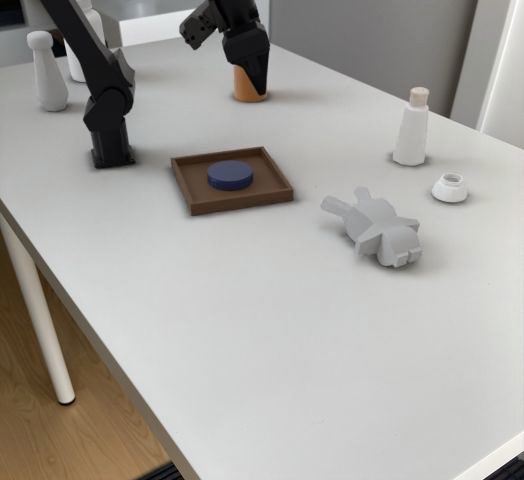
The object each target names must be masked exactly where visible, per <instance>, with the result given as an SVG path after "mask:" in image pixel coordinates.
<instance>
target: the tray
mask: <svg viewBox="0 0 524 480" xmlns="http://www.w3.org/2000/svg"><path fill="white" fill-rule="evenodd" d="M221 161H240V162H244V163H246V164H248V165H250V166H251V167H252V170H253V181H252V183H251V185H250V186H248V187H246V188H244V189H241V190H236V191H223V190H218V189H215V188H213V187H212V186H210V185H209V183H208V179H207V171H208V168H209V167H210V166H211V165H213V164H215V163H218V162H221ZM170 165H171V170H172V173H173V175H174V177H175V180H176V183H177V185H178V187H179V189H180V192H181V195H182V196H183V199H184V202H185V204H186V206H187V209H188V211H189V213H190V215H191V216H197V215H198V216H199V215H205V214H212V213H219V212H225V211H230V210H238V209H245V208H251V207H258V206H264V205H271V204H278V203H279V204H280V203H285V202H291V201H294V191H295V190H294V188H293V186H292V185H291V183H290V182H289V180H288V179H287V178H286V176H285V174H283V172H282V170H281V169H280V168H279V166H278V165H277V163H276V162H275V161H274V159H273V158H272V156H271V155H270V154H269V152H268V151H267V149H266V148H265V146H264V145H262V146H253V147H244V148H237V149H231V150H223V151H215V152H207V153H200V154H199V153H198V154H192V155H182V156H176V157H170Z"/></svg>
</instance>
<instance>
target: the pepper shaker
mask: <svg viewBox="0 0 524 480" xmlns="http://www.w3.org/2000/svg"><path fill="white" fill-rule="evenodd" d="M409 93H410V95H409V103H406V104H405V107H404V110H403V113H402V118H401V122H400V126H399V130H398V132H397V133H398V134H397V138H396V141H395V145H394V149H393V153H392V161H394V162H396V163H397V164H399V165H401V166H407V167H408V166H410V167H416V166H418V165H422V164H424V163H425V156H426V148H427V147H426V146H427V133H428V124H429V123H428V121H429V108H430V107H429V105H427V104H428V103H427V102H428V99H429V95H430V89H428V88H425V87H423V86H422V87H421V86H416V87H413V88H411V89H410V92H409Z"/></svg>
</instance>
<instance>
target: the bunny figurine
mask: <svg viewBox="0 0 524 480" xmlns="http://www.w3.org/2000/svg"><path fill="white" fill-rule="evenodd" d="M353 195H354V197H355V198H356V200H357V202H356V203H355V204H354V205H353V206H352V205H351V204H350V203H349V204H348V203H347V202H345V201H343V200H341V199H340V198H339V197H336V196H332V195H326V196H324V197H323V198H322V201H321V202H320V204H319V209H320V210H321V211H323V212H327V213H329V214H333V215H335V216H338V217H341V218H343V220H344V224H345V229H346V233H347V235H348V236H349V238H350V239H351V240H352V241H353V242H354V243H355V245H354V249H353V253H354V254H355V255H357V256H363V255H364V256H365V255H376V257H377V261H378V263H379V264H380V265H381V266H385V267H388V266H393V267H394V268H399V267H402V266H404V265H406V264H407V263H413V262H416V261H418V260H421V257H422V254H423V251H424V249H423V248H422V247H421V245H420V240H419V237H418V231H419V228H420V221H418V219H417V218H416V219H415V218H408V217H401V216H398V214H397V212H396V208H394V206H393V205H392V204H391V203H390V201H388V200H387V199H386V198H384V197H376V198H375V197H374V198H372V197H371V194H370V190H369V188H368V187H366V186H358V187H356V188H354V189H353Z"/></svg>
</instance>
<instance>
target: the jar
mask: <svg viewBox="0 0 524 480" xmlns="http://www.w3.org/2000/svg"><path fill="white" fill-rule="evenodd" d="M233 94H234V98H235V100H237V101H239V102H245V103H257V102H262V101H264V100H266V98H267V97H268V85H267V86H266V94H264V95H262V96H259V95H258V93H257V92H256V90H255V88H254V86H253V85H252V83H251V81H250V80H249V78H248V76H247V75H246V73H245V71H244V70H243V68H242V67H240V66H237V65H233Z"/></svg>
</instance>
